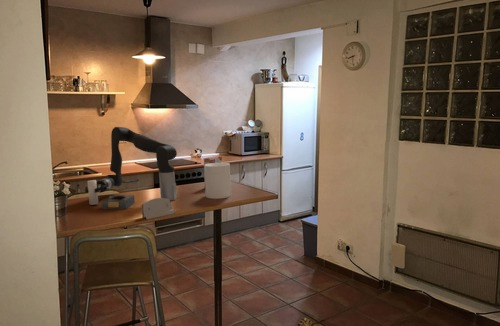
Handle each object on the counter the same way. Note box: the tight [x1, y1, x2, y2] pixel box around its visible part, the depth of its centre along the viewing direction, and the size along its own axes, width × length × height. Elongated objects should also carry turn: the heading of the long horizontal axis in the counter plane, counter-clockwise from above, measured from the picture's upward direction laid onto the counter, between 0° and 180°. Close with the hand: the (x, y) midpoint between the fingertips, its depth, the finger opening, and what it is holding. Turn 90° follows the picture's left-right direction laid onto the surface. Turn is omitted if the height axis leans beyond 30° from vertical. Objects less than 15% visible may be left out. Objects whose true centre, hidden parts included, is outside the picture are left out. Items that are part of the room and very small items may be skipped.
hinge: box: [141, 197, 175, 220], centre depth 214 cm, size 17×5×10 cm, turn 129°
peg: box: [86, 179, 99, 206], centre depth 240 cm, size 5×5×14 cm
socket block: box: [100, 194, 136, 210], centre depth 236 cm, size 14×14×5 cm
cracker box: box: [203, 155, 223, 182], centre depth 285 cm, size 14×6×21 cm, turn 147°
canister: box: [203, 162, 232, 200], centre depth 254 cm, size 16×16×20 cm
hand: (90, 190), depth 238 cm, fingers closed on peg, 5 cm apart
